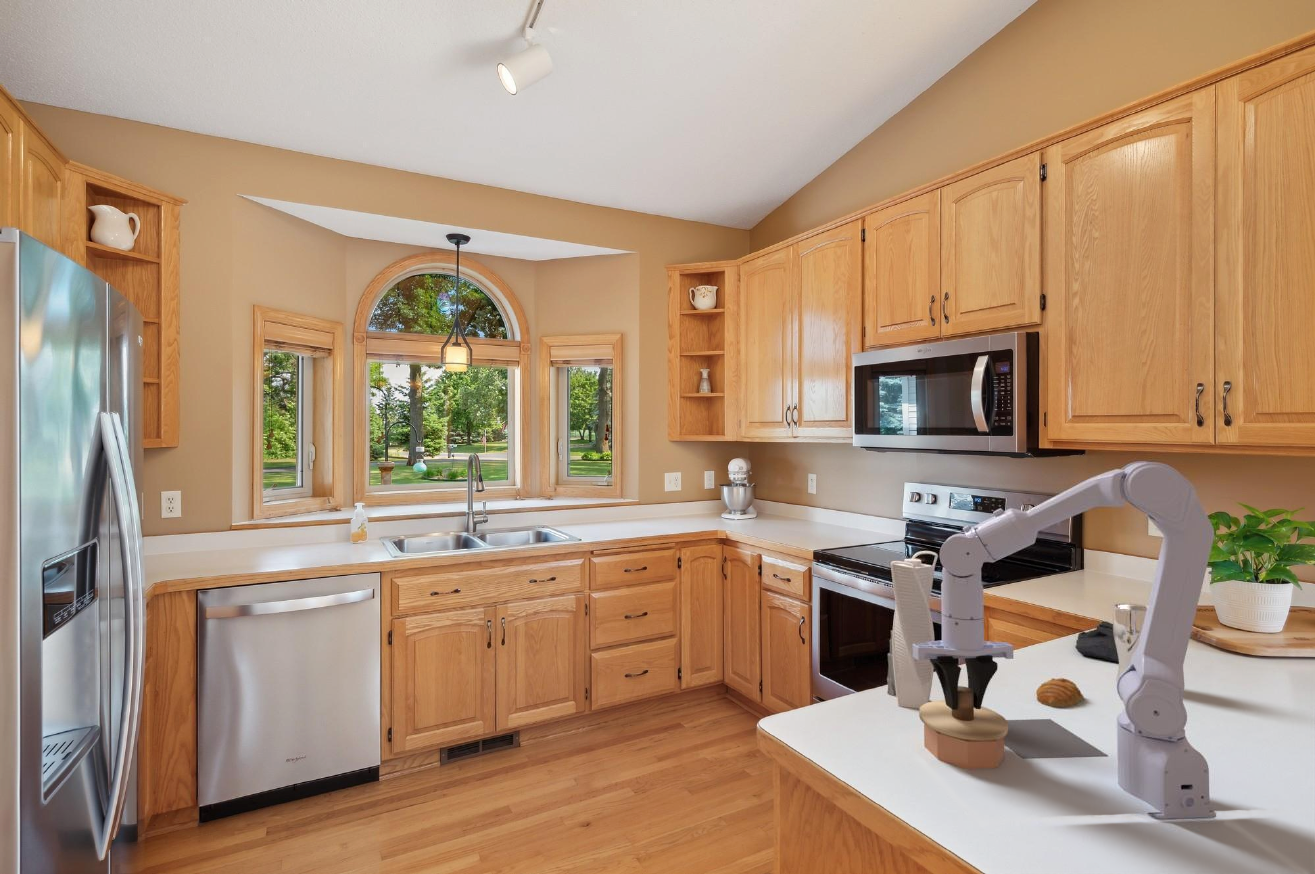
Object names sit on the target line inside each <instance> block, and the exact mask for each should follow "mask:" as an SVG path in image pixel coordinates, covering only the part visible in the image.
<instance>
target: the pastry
mask: <svg viewBox="0 0 1315 874" xmlns="http://www.w3.org/2000/svg"><path fill="white" fill-rule="evenodd" d="M1084 699H1085V697H1084V694H1082V692H1081V690H1080V689H1079V687H1078V686H1077V685H1076V683H1075V682H1073V681H1071V680H1069V679H1066V678H1063V677H1059V678H1050V680H1047V681H1045V682H1043V683H1042V684H1041V685H1040V686H1039V687H1037V689H1036V701H1037V702H1039V704H1041V705H1043V706H1047V707H1049V708H1050V707H1051V708H1057V709H1058V708H1059V709H1060V708H1063V709H1064V708H1067V707H1071V706H1074V705H1077V704H1079V702H1081V701H1082V700H1084Z"/></svg>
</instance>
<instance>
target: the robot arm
mask: <svg viewBox="0 0 1315 874" xmlns="http://www.w3.org/2000/svg"><path fill="white" fill-rule="evenodd" d="M1124 501H1125V502H1126V503H1128V504H1129V505H1131V506H1132V507H1134V508H1136V509H1137V510H1139V511H1140V512H1141V513H1143V514H1145V515H1146V516H1147V518H1148V519H1149V520H1150V521H1151V523H1153V525H1155V527H1156V529H1158V530H1159V531H1160V533H1161V534H1162V536H1163V540H1162V543H1161V547H1160V552H1159V554H1158V555H1159V556H1158V560H1157V564H1156V568H1155V573H1154V577H1153V581H1152V585H1151V588H1150V589H1151V590H1150V594H1149V598H1148V603H1147V605H1146V606H1147V611H1146V615H1145V619H1144V623H1143V628H1142V632H1141V636H1140V640H1139V645H1138V648H1137V649H1136V651H1135V652H1134V654H1133V655H1132V658H1131V662H1130V665H1129V667H1128V668H1127V669H1126V670H1125V671H1124V672H1123V673H1122V674H1121V675H1120V676H1119V678H1118V680H1117V681H1116V691H1117V694H1118V697H1119V698H1120V700H1121V701H1122V703H1123V705H1124V708H1123V710H1122V711H1121V712H1120V714H1118V715H1117V717H1116V735H1117V737H1116V740H1117V741H1116V742H1117V744H1116V745H1117V752H1116V754H1117V785H1118V786H1119V788H1120V789H1121V790H1123V791H1124V792H1126V793H1127V794H1129V795H1131V796H1133V797H1135V798H1137V799H1139V800H1141V801H1143V802H1144V803H1146V804H1148V805H1149V806H1150V807H1152V808H1153V809H1155V810H1157V812H1155V811H1154V812H1148V815H1151V816H1152V817H1153V818H1155V819H1159V820H1163V819H1165V820H1166V819H1189V818H1190V819H1191V818H1193V819H1194V818H1215V817H1216V816H1217V813H1216V811H1214V810H1211V809H1210V807H1211V806H1210V769H1209V765H1208V762H1207V760H1206V758H1205V757H1204V756H1203V754H1202V753H1201V752H1199V751H1198V750H1197V749H1195V747H1193V746H1192V745H1191V744H1190V742H1189V741H1188V738H1187V737H1186V729H1185V727H1186V725H1187V721H1188V713H1187V709H1186V707H1185V704H1184V700H1183V699H1184V691H1185V675H1184V674H1185V673H1184V663H1185V658H1186V656H1187V651H1188V647H1189V642H1190V638H1191V635H1192V630H1193V627H1194V626H1193V625H1194V622H1195V619H1196V614H1197V610H1198V605H1199V600H1200V596H1201V592H1202V588H1203V583H1204V582H1205V581H1204V580H1205V575H1206V571H1207V567H1208V564H1209V559H1210V555H1211V551H1212V546H1213V542H1214V539H1215V530H1214V529H1215V528H1214V527H1213V525H1212V522H1211V520H1210V518H1209V516H1208V515H1207V513H1206V511H1205V509H1204V507H1203V505H1202V503H1201V501H1200V498H1199V496H1197V491H1196V488H1195V486H1194V484H1192V482H1190V481H1189V480H1188V479H1187V478H1186V477H1185V476H1183V474H1181V473H1180V472H1179V471H1178V470H1177V469H1176V468H1174V467H1172V466H1170V465H1168V464H1166V463H1162V462H1154V461H1153V462H1151V461H1145V460H1143V461H1139V460H1138V461H1134V462H1130V463H1128V464H1126V465H1125V466H1123V467H1122V468H1121V469H1119V468H1115V469H1113V470H1109V471H1105V472H1103V473H1101V474H1098V475H1095V476H1092V477H1090V478H1088V479H1086V480H1084V481H1082V482H1080V483H1078V484H1076V485H1075V486H1072V487H1071V488H1069V489H1067V490H1065V491H1063V492H1061V493H1059V494H1057V495H1055V496H1053V497H1051V498H1049V499H1047V500H1045V501H1043V502H1042V503H1040V504H1038V505H1036V506H1034V507H1032V508H1030V509H1027V510H1026V511H1025V510H1020V509H1016V508H1011V507H1010V508H1008V509H1006V510H1004V509H1002V508H998V509H996V510H994V511H993V513H992V514H993V516H992V517H989V518H988V519H986V520H984V521H981V522H978V524H975V525H973V526H972V527H971V526H970V525H969V524H968V525H966V526H963V528H962V531H963V532H964V533H961V532H960V533H955V534H952V535H951V536H949V537H948V538H947V539H946V540H945V541H944V542H943V544H942V545H941V547H940V549H939V560H940V564H941V565H942V570H941V577H942V582H941V584H940V587H941V588H940V590H941V592H940V596H941V599H940V600H941V640H934V641H933V642H927V643H918V644H913V657H914V658H916V659H917V660H919V661H921V660H925V659H930V662H931V663H932V665H933V667H934V671H935V673H936V675H937V677H938V680H939V684H940V686H941V689H942V693H943V695H944V700H945V702H946V705H947V706H948V707H950V708H951V709H952V710H957V706H958V686H959V681H960V680H959V679H960V677H961V676H960V675H961V671H962V668H961V666H959V665H958V664H956V661H955V660H954V659H964V663H965V668H966V675H967V687H968V688H970V689H972V690H973V691H974V708H976V709H981V706H982V705H983V701H984V698H985V695H986V691H987V688H988V685H989V683H990V681H991V680H992V678H993V676H994V675H995V674H996V673H997V671H998V662H996V661H994V660H993V659H995V658H1004V659H1006V660H1007V659H1008V660H1013V659H1014V645H1012V644H1010V643H1008V642H1007V641H1006V642H1005V641H1002V642H1001V641H989V640H988V641H987V640H985V630H984V629H985V627H984V626H985V625H984V624H985V622H984V619H985V617H984V615H985V614H984V609H985V608H984V586H983V584H982V568H983V564H984V563H995V562H996V561H998V560H1001V559H1003V558H1005V557H1008V556H1010V555H1012V554H1014V553H1017V552H1019V551H1021V550H1023V549H1025V548H1028V547H1030V546H1032V545H1034V544H1035V543H1036V539H1037V536H1038V533H1039V531H1042V530H1044V529H1046V528H1049V527H1051V526H1053V525H1056V524H1058V523H1060V522H1063V521H1065V520H1067V519H1069V518H1072V517H1074V516H1075V517H1076V516H1077V515H1080V514H1082V513H1084V512H1086V511H1089V510H1091V509H1093V508H1096V507H1101V508H1103V507H1106V508H1107V507H1108V508H1125V504H1124ZM1158 811H1159V812H1158Z"/></svg>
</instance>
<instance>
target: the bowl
mask: <svg viewBox="0 0 1315 874" xmlns="http://www.w3.org/2000/svg"><path fill="white" fill-rule="evenodd" d="M923 731H924V732H923V733H924V735H923V737H924V739H923V741H924V743H923V746H924V748H925V749H927V751H928V752H929V753H931V754H932V755H933V756H934V758H936V759H937V760H938V761H941V762H944V763H948V764H952V765H955V766H958V767H960V768H965V769H968V770H969V769H971V770H972V769H973V770H974V769H975V770H976V769H997V768H998V767H999V766H1000V764H1001V763H1002V761H1004V759H1005V745H1004V737H1002V738H1000V739H996V740H988V741H977V740H968V739H961V738H957V737H952V736H949V735H946V734H943V733H940V732H938V731H936V730H933V729H932V728H930V727H928V726H927V725H925V724H924V723H923Z"/></svg>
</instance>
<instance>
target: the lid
mask: <svg viewBox="0 0 1315 874" xmlns="http://www.w3.org/2000/svg"><path fill="white" fill-rule="evenodd" d="M918 711H919V718H920V721H921V722H922V723H923V725H924V724H925V725H927V726H928V727H930V728H932V729H933V730H936V731H938V732H940V733H943V734H946V735H949V736H952V737H957V738H961V739H968V740H977V741H988V740H996V739H1000V738H1002V737H1004V736H1006V735H1007V733H1008V722H1007V720H1008V719H1006V718H1005V717H1004V716H1002V714H1000V713H998V712H996V711H995V710H992V709H989V708H987V707H985V706H982V705H981V709H976V708H974V691H973V690H972V689H970V688H968V686H963V685H958V706H957V710H952V709H951V708H950V707H948V706H947V705H946V702H945V699H944V700H933V701H928V703H925V704H924V705H922V706H921V707H920V709H919V710H918Z"/></svg>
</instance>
